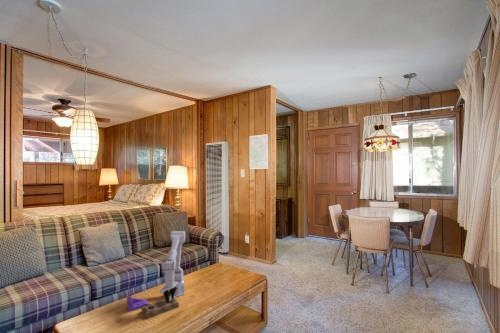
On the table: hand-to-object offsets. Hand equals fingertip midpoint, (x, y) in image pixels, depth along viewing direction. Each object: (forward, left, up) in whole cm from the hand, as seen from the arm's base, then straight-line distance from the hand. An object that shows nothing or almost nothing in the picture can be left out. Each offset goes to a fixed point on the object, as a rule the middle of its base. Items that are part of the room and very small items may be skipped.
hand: (169, 300), depth 169 cm
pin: (0, 0, -4) cm, 4 cm away
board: (+6, 0, -4) cm, 7 cm away
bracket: (+15, -13, -4) cm, 21 cm away
